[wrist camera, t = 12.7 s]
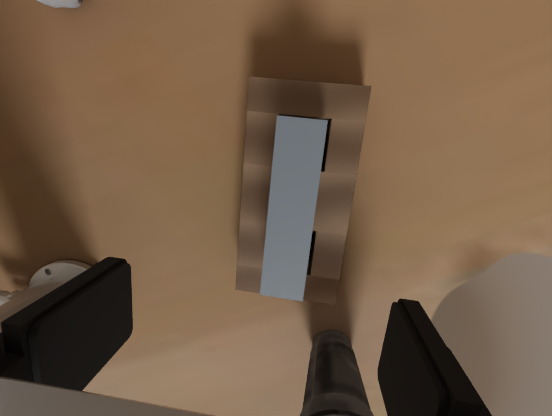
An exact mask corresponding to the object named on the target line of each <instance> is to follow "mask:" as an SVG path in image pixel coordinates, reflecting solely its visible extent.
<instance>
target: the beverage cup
mask: <svg viewBox="0 0 552 416" xmlns="http://www.w3.org/2000/svg"><path fill="white" fill-rule="evenodd" d="M300 416H374V415H373V413H372V412H371V410H370V406H369V403H368V399H367V396H366V392H365V389H364V385H363V382H362V379H361V375H360V372H359V368H358V365H357V361H356V358H355V354H354V351H353V349H352V346H351V343H350V340H349V339H348V338H347V336H345V335H344V334H342V333H340V332H338V331H332V330H329V331H324V332H322V333H320V334H318V335H317V336H316V337H315V339H314V341H313V346H312V350H311V354H310V361H309V368H308V375H307V382H306V388H305V395H304V402H303V409H302V412H301V414H300Z"/></svg>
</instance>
